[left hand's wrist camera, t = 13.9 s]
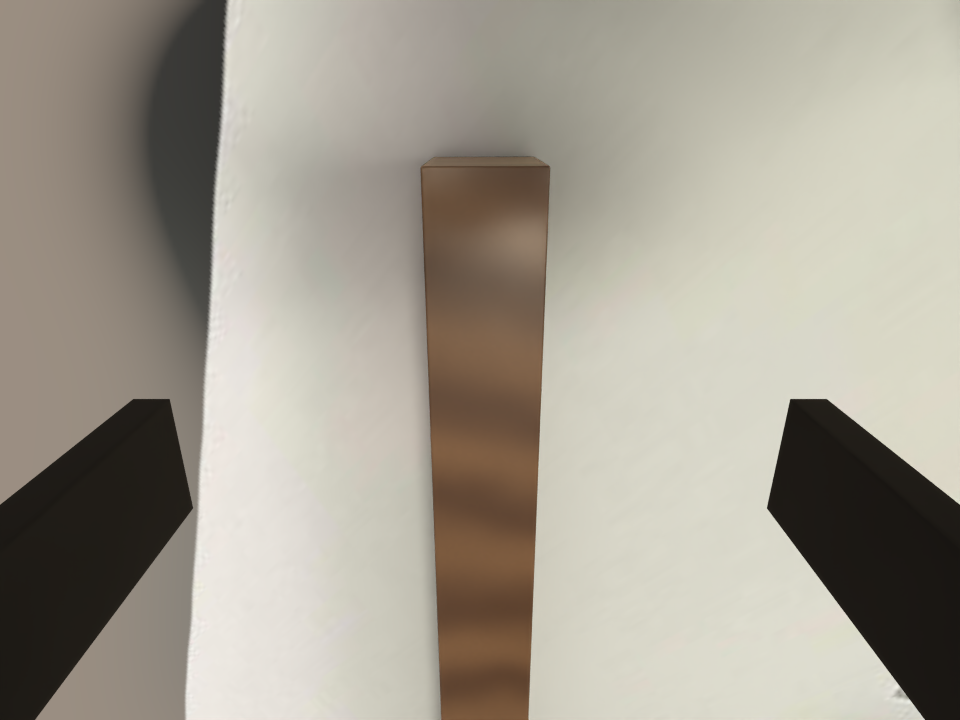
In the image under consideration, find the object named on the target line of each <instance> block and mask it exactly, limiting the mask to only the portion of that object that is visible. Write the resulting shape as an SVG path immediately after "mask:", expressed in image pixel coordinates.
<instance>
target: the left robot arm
mask: <svg viewBox="0 0 960 720" xmlns="http://www.w3.org/2000/svg"><path fill="white" fill-rule="evenodd" d="M192 509H193V506H192V501H191V496H190V492H189V487H188V483H187V478H186V473H185V469H184V464H183V459H182V455H181V450H180V445H179V441H178V436H177V431H176V427H175V422H174V417H173V413H172V408H171V403H170V399H133V400H132V401H130V402H129V403H128V404H127V405H125V406H124V407H123V408H122V409H120V410H119V411H118V412H117V413H115V414H114V415H113V416H112V417H110V418H109V419H108V420H106V421H105V422H104V423H103V424H101V425H100V426H99V427H98V428H96V429H95V430H94V431H93V432H91V433H90V434H89V435H88V436H86V437H85V438H84V439H83V440H81V441H80V442H79V443H77V444H76V445H75V446H74V447H72V448H71V449H70V450H69V451H67V452H66V453H65V454H64V455H62V456H61V457H60V458H59V459H57V460H56V461H55V462H54V463H52V464H51V465H50V466H49V467H47V468H46V469H45V470H44V471H42V472H41V473H40V474H38V475H37V476H36V477H35V478H33V479H32V480H31V481H30V482H28V483H27V484H26V485H25V486H23V487H22V488H21V489H20V490H18V491H17V492H16V493H14V494H13V495H12V496H11V497H9V498H8V499H7V500H6V501H4V502H3V503H2V504H1V505H0V720H35V719H36V718H37V716H38V715H39V714H40V712H41V711H42V710H43V708H44V707H45V706H46V704H47V703H48V702H49V700H50V699H51V698H52V696H53V695H54V694H55V692H56V691H57V690H58V688H59V687H60V686H61V684H62V683H63V682H64V680H65V679H66V678H67V676H68V675H69V674H70V672H71V671H72V669H73V668H74V667H75V665H76V664H77V663H78V661H79V660H80V659H81V657H82V656H83V655H84V653H85V652H86V651H87V649H88V648H89V647H90V645H91V644H92V643H93V641H94V640H95V639H96V637H97V636H98V635H99V633H100V632H101V631H102V629H103V628H104V627H105V625H106V624H107V623H108V621H109V620H110V619H111V617H112V616H113V615H114V613H115V612H116V611H117V609H118V608H119V607H120V605H121V604H122V603H123V601H124V600H125V599H126V597H127V596H128V594H129V593H130V592H131V590H132V589H133V588H134V586H135V585H136V584H137V582H138V581H139V580H140V578H141V577H142V576H143V574H144V573H145V572H146V570H147V569H148V568H149V566H150V565H151V564H152V562H153V561H154V560H155V558H156V557H157V556H158V554H159V553H160V552H161V550H162V549H163V548H164V546H165V545H166V544H167V542H168V541H169V540H170V538H171V537H172V536H173V534H174V533H175V532H176V530H177V529H178V528H179V526H180V525H181V524H182V522H183V521H184V520H185V518H186V517H187V516H188V514H189V513H190V512H191V510H192ZM767 509H768V510H769V512H770V513H771V514H772V516H773V517H774V518H775V520H776V521H777V522H778V524H779V525H780V526H781V528H782V529H783V530H784V532H785V533H786V534H787V536H788V537H789V538H790V540H791V541H792V542H793V544H794V545H795V546H796V548H797V549H798V550H799V552H800V553H801V554H802V556H803V557H804V558H805V560H806V561H807V562H808V564H809V565H810V566H811V568H812V569H813V570H814V572H815V573H816V574H817V576H818V577H819V578H820V580H821V581H822V582H823V584H824V585H825V587H826V588H827V589H828V591H829V592H830V593H831V595H832V596H833V597H834V599H835V600H836V601H837V603H838V604H839V605H840V607H841V608H842V609H843V611H844V612H845V613H846V615H847V616H848V617H849V619H850V620H851V621H852V623H853V624H854V625H855V627H856V628H857V629H858V631H859V632H860V633H861V635H862V636H863V637H864V639H865V640H866V641H867V643H868V644H869V645H870V647H871V648H872V649H873V651H874V652H875V653H876V655H877V656H878V657H879V659H880V660H881V661H882V663H883V664H884V665H885V667H886V668H887V669H888V671H889V672H890V674H891V675H892V676H893V678H894V679H895V680H896V682H897V683H898V684H899V686H900V687H901V688H902V690H903V691H904V692H905V694H906V695H907V696H908V698H909V699H910V700H911V702H912V703H913V704H914V706H915V707H916V708H917V710H918V711H919V712H920V714H921V715H922V716H923V718H924V719H925V720H960V505H959V504H958V503H957V502H956V501H954V500H953V499H952V498H951V497H949V496H948V495H947V494H946V493H944V492H943V491H942V490H940V489H939V488H938V487H937V486H935V485H934V484H933V483H932V482H930V481H929V480H928V479H927V478H925V477H924V476H923V475H922V474H920V473H919V472H918V471H917V470H915V469H914V468H913V467H912V466H910V465H909V464H908V463H906V462H905V461H904V460H903V459H901V458H900V457H899V456H898V455H896V454H895V453H894V452H893V451H891V450H890V449H889V448H888V447H886V446H885V445H884V444H883V443H881V442H880V441H879V440H877V439H876V438H875V437H874V436H872V435H871V434H870V433H869V432H867V431H866V430H865V429H864V428H862V427H861V426H860V425H859V424H857V423H856V422H855V421H854V420H852V419H851V418H850V417H848V416H847V415H846V414H845V413H843V412H842V411H841V410H840V409H838V408H837V407H836V406H835V405H833V404H832V403H831V402H830V401H828V400H827V399H790V403H789V408H788V413H787V417H786V422H785V427H784V431H783V436H782V441H781V445H780V450H779V455H778V459H777V464H776V469H775V473H774V478H773V483H772V487H771V492H770V496H769V501H768V506H767Z"/></svg>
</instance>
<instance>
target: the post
mask: <svg viewBox="0 0 960 720" xmlns="http://www.w3.org/2000/svg"><path fill="white" fill-rule="evenodd" d="M549 184H550V166H548V165H547V164H545V163H543V162H542V161H540V160H539V159H537V158H535V157H434V158H432V159H431V160H429V161H428V162H427V163H425V164H424V165H423V166H421V191H422V218H423V244H424V271H425V297H426V324H427V350H428V377H429V403H430V430H431V456H432V483H433V510H434V536H435V563H436V589H437V616H438V642H439V669H440V695H441V720H528V713H529V688H530V662H531V637H532V612H533V587H534V562H535V537H536V511H537V486H538V461H539V436H540V411H541V386H542V361H543V335H544V310H545V285H546V260H547V235H548V210H549Z"/></svg>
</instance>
